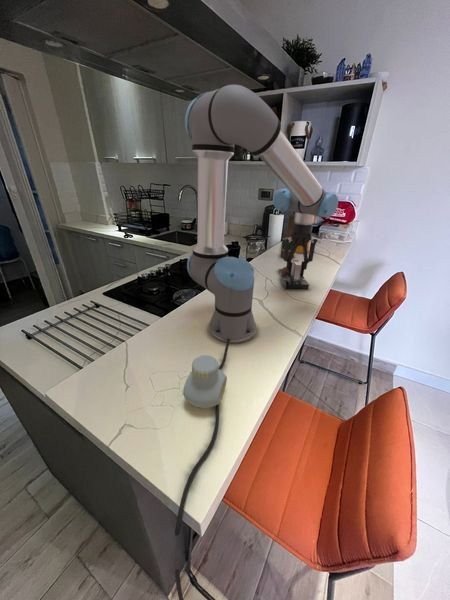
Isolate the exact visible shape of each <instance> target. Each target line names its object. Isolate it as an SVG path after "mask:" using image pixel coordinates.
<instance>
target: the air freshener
mask: <svg viewBox="0 0 450 600" xmlns="http://www.w3.org/2000/svg"><path fill="white" fill-rule="evenodd" d="M218 368H219V361H218V360H217V358H215V357H214V356H213V355H209V354H204V355H199V356H197V357H195V358H194V359H193V360H192V362H191V371H190V373H189V374H188V376H187V378H186V380H185V382H184V386H183V391H182V392H183V393H182V395H183V397H184V398H185V400H186V401H187V402H188V403H189V404H191V405H192V406H194V407H197V408H202V409H207V408H208V409H209V408H212V407H216V405H218V404H220V403H221V401H222V399H223V396H224V394H225V390H226V387H227V381H228V376H227V375H226V373H225V372H224V371H223V370H222V369H221V370H219V369H218Z"/></svg>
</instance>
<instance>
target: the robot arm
mask: <svg viewBox="0 0 450 600" xmlns="http://www.w3.org/2000/svg"><path fill="white" fill-rule="evenodd" d="M184 126H185V130H186V134H187V136H188V137H189V139H190V141H191V152H192V153H193V155H194V156H195V157H196V159H197V224H196V225H197V230H196V231H197V233H196V234H197V237H196V238H197V240H196V241H197V243H195V245H194V246H193V247H192V253H191V254H190V256H189V257H188V259H187V263H186V269H187V273H188V275H189V276H190V278H191V279H192V280H193V281H194V282H195V283H197V284H198V285H199V286H201V287H203V288H204V289H206V290H207V291H208V292H210V293H211V294H212V295H213V296H214V311H213V313H212V316H211V319H210V322H209V333H210V335H211V337H213V338H214V339H215V340H217V341H219V342H221V343H225V349H224V352H223V357H222V360H221V363H220V365H218V369H219V370H221V371H222V369H223V367H224V365H225V362H226V359H227V354H228V350H229V346H230V344H242V343H245V342H248V341H250V340H251V339H253V337H254V336H255V335H256V330H257V326H256V325H257V324H256V321H255V317H254V315H253V310H252V309H253V308H252V307H253V297H254V287H255V270H254V267H253V265H252V264H251V263H250V262H249V261H247V260H246V259H244V258H241V257H236V256H229V248H228V247H227V246H226V245H225V230H226V229H225V227H226V211H227V209H226V208H227V189H228V168H229V160H230V159H231V158H232V157H233V156H234V155H235V145H237V146H239V147H241V148H244V149H246V151H248V153H249V154H250V155H251V156H253V157H259V158H260V159H261V161H262V162H263V163H264V164H265V165H266V166H267V167H268V168H269V169H270V171H271V172H272V173H273V174H274V175H275V177H277V178H278V179H279V181H281V183H282V184H283V185H284V186H285V187H284V188H279V189H278V190H276V192H275V193H274V195H273V200H272V201H273V202H272V203H273V206H274V208H275V209H276V210H277V211H279V212H287V211H289V212H295V213H294V214H295V219H294V222H295V223H294V225H293V233H292V235H291V237H288V238H287V237H285V238H284V240H285V248H284V255H283V258H282V260H283V261H284V262H286V265H285V267H286V268H287V269H288V274H287V275H288V277H290V276H291V269H292V262H293V258H294V257H293V255H294V256H295V253H296V248H297V247H298V246H302V247H303V253H302V255H303V256H302V257H303V260H302V261H301V265H302V266H301V272H300V276H301V277H304V273H305V270H307V268H308V264H309V263H311V262H313V260H314V255H315V249H316V245H317V242H318V239H317V238H316V237H313V236H312V231H313V225H314V223H313V221H314V215H315V216H316V217H319V218H330V217H331V216H333V215H334V214H335V213H336V211H337V209H338V206H339V197H338V195H337V194H336V193H334V192H330V191H325V190H324V189H325V188H323V187H322V185H321V184H320V182H319V181H318V180H317V179H316V177H315V176H314V174H313V173H312V171H311V169H309V167H308V165H306V163H305V162H304V160H303V159H302V158H301V156H300V155H299V154H298V151H296V149H295V148H294V147H293V144H292V143H290V141H289V139H288V138H287V137H286V136H285V134H284V133H283V131H282V128H283V127H282V126H283V125H282V122H281V121H280V119H279V118H278V116H277V115H276V113H275V111H274V110H273V109H272V108H271V107H270V106H269V105H268V104H267V103H266V102H265V101H264V100H263V99H262V98H261V97H260V96H259V95H258V94H257V93H255V92H254V91H252V90H251V89H249V88H247V87H245V86H243V85H240V84H227V85H224V86H222V87H221V88H217V89H214V90H212V91H206V92H203V93H200V95H198V96H197V97H195V98H193V100H191V102H190V103H189V105H188V107H187V109H186V112H185V115H184ZM312 223H313V225H312ZM291 240H292V241H293V245H292V248H291V251H290V253H289V256H288V250H289V243H290V241H291ZM308 242H309V249H308V251H309V252H307V243H308ZM287 256H288V258H287ZM219 404H220V403H219ZM219 404H218V405H216V406H215V421H214V429H213V433H212V436H211V440H210V442H209V444H208V446H207V448H206V449H205V451H204V453H203V454H202V456H201V457H200V458H199V459H198V460H197V462H196V463H195V465H194V467H193V468H192V470H191V472H190V474H189V477H188V479H187V481H186V482H185V485H184V488H183V491H182V495H181V498H180V503H179V508H178V512H177V517H176V523H175V529H174V535H175V536H176V537H177V536H179V534H180V533H181V527H182V521H183V516H184V509H185V504H186V500H187V497H188V493H189V490H190V487H191V484H192V483H193V479H194V477H195V475H196V473H197V472H198V469H199V468H200V467H201V465H202V464H203V462H204V461H205V460H206V459H207V457H208V456H209V454H210V452H211V451H212V449H213V447H214V444H215V441H216V439H217V435H218V430H219V422H220V405H219ZM180 574H181V571H180V569H179V568H177V569H176V568H175V569H174V576H175V585H176V593H177V596H178V600H184V596H183V591H182V584H181V575H180Z"/></svg>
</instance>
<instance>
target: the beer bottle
mask: <svg viewBox="0 0 450 600" xmlns="http://www.w3.org/2000/svg"><path fill="white" fill-rule="evenodd" d="M294 219H295V213H294V214H293V213H290V214H289V215H288V222H287V226H286V229H285V231H284V232H283V234H282V239H281V245H280V257H281V258H282V259H283V255H284V248H285V240H284V238H285V237H287V238H288V237H291V235H292V233H293V225H294V223H295V222H294ZM292 245H293V241H292V240H291V241H290V243H289V250H288V256H289V253H290V251H291V248H292ZM288 256H287V258H288ZM294 257H295V254H294V255H293V258H294Z"/></svg>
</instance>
